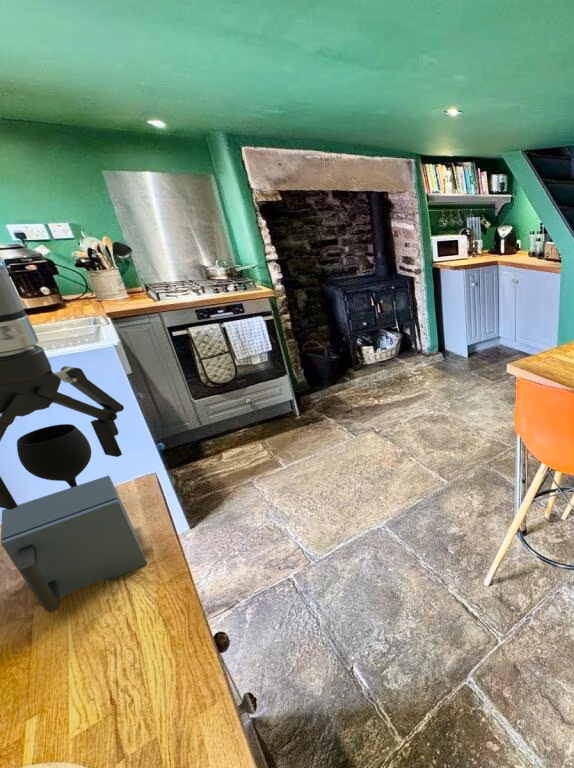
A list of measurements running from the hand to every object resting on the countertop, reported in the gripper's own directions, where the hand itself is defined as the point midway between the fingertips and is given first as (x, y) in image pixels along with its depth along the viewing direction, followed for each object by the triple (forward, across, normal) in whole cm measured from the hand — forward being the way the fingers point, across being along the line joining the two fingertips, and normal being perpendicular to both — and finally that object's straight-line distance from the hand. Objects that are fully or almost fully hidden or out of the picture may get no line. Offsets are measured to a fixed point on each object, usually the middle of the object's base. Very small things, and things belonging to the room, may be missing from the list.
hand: (65, 478), depth 63 cm
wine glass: (+27, +16, +35) cm, 47 cm away
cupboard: (+26, +3, +12) cm, 29 cm away
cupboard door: (+26, -1, +5) cm, 27 cm away
